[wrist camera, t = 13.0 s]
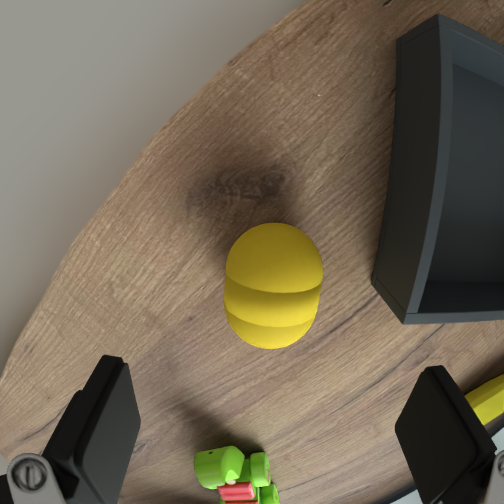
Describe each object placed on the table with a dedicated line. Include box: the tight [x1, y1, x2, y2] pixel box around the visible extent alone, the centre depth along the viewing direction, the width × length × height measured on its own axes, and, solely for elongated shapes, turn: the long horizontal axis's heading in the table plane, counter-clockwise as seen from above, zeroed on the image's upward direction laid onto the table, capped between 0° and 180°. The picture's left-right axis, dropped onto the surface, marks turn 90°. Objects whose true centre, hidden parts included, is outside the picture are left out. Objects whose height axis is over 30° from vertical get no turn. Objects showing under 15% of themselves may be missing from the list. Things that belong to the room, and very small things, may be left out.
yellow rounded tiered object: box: [224, 223, 323, 349], centre depth 19 cm, size 8×6×6 cm
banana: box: [465, 374, 504, 425], centre depth 26 cm, size 5×17×15 cm
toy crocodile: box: [194, 446, 280, 504], centre depth 27 cm, size 20×7×6 cm, turn 11°
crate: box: [371, 14, 504, 325], centre depth 16 cm, size 18×17×6 cm
